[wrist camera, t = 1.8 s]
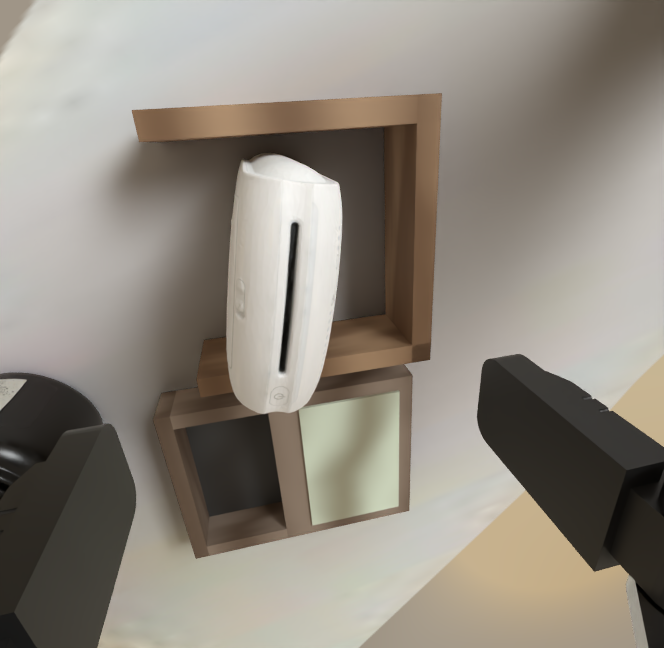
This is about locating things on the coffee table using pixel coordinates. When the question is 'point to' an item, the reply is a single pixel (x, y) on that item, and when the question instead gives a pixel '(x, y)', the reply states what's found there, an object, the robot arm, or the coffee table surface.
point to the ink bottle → (36, 421)
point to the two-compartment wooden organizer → (288, 459)
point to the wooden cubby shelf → (400, 215)
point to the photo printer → (281, 281)
